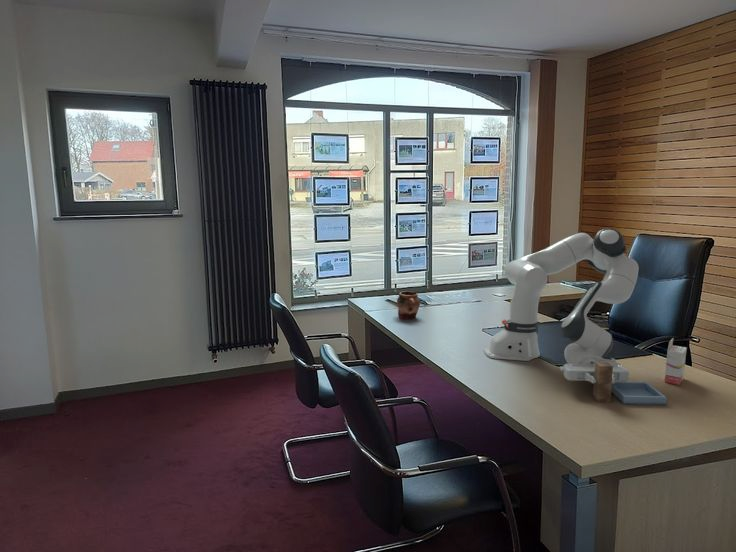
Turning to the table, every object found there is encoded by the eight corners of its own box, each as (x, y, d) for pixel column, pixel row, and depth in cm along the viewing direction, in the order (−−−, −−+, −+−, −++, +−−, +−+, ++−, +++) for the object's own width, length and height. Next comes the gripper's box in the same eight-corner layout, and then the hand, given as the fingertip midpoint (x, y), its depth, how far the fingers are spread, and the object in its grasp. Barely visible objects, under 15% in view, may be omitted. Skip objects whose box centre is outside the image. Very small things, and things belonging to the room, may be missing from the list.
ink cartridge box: (680, 385, 173) (684, 344, 170) (664, 382, 176) (667, 342, 174) (684, 378, 179) (688, 339, 177) (668, 375, 182) (671, 336, 180)
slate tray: (623, 404, 158) (624, 396, 158) (607, 388, 171) (607, 381, 171) (666, 404, 158) (666, 397, 157) (646, 389, 170) (647, 382, 170)
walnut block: (597, 401, 160) (599, 366, 158) (592, 396, 164) (595, 362, 162) (610, 402, 160) (612, 366, 158) (605, 397, 164) (607, 362, 162)
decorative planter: (426, 321, 263) (426, 295, 260) (404, 323, 259) (404, 297, 257) (411, 313, 281) (411, 288, 279) (391, 314, 278) (391, 290, 275)
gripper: (558, 357, 174) (571, 371, 161) (618, 358, 173) (637, 372, 159) (557, 374, 175) (570, 390, 162) (617, 375, 174) (635, 391, 160)
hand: (603, 381), depth 160 cm, fingers closed on walnut block, 4 cm apart
